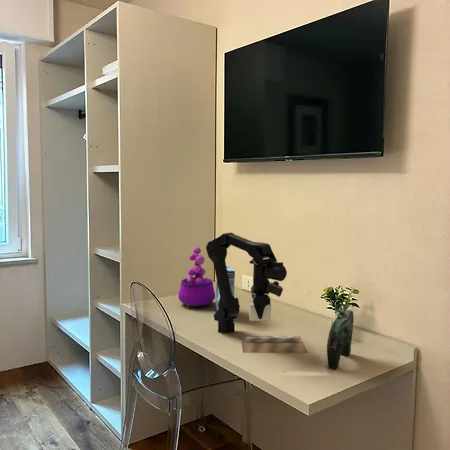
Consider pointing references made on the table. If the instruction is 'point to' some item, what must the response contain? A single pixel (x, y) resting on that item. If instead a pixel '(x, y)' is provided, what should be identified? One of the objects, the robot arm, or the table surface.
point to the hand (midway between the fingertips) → (259, 316)
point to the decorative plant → (196, 284)
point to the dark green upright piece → (340, 337)
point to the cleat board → (273, 344)
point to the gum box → (231, 279)
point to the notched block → (254, 315)
